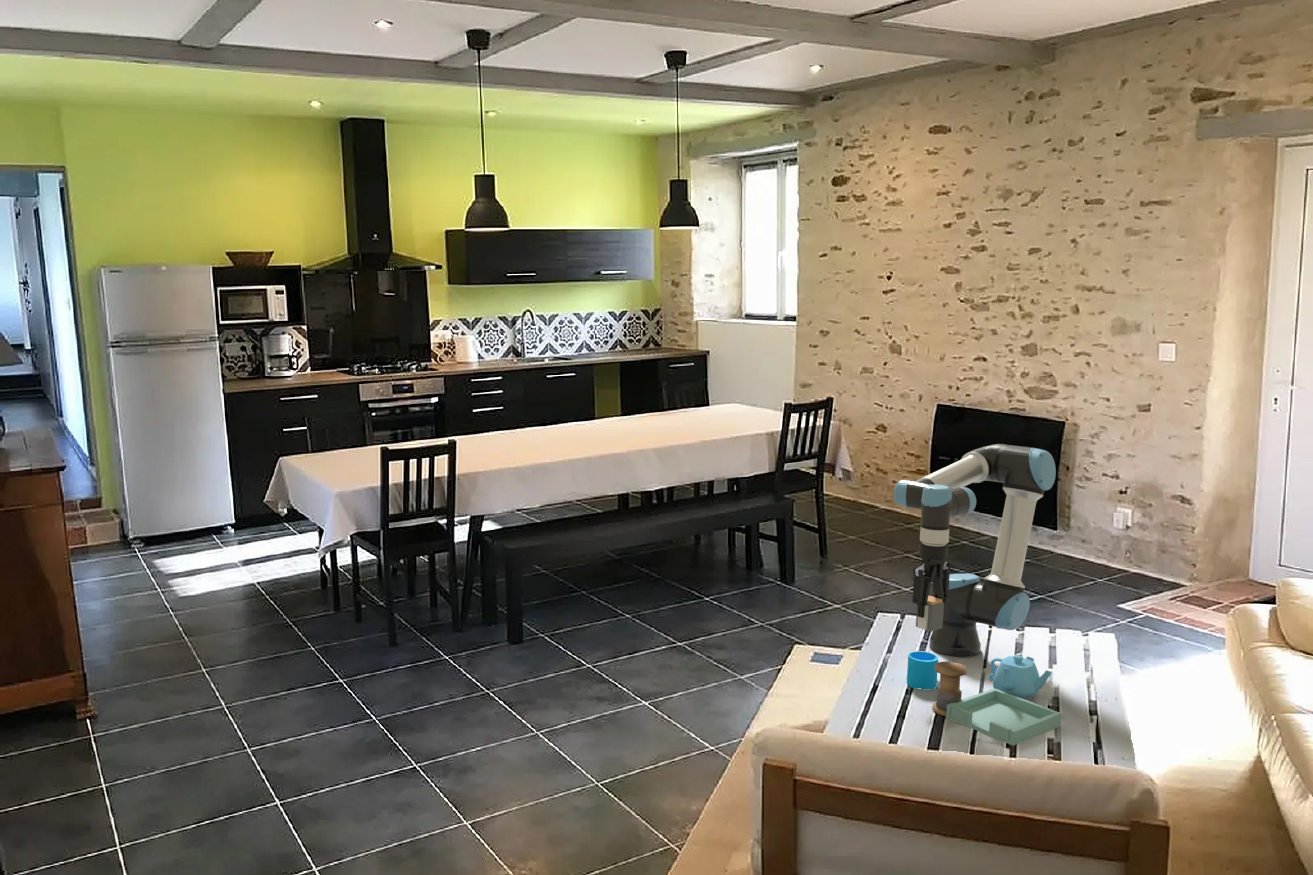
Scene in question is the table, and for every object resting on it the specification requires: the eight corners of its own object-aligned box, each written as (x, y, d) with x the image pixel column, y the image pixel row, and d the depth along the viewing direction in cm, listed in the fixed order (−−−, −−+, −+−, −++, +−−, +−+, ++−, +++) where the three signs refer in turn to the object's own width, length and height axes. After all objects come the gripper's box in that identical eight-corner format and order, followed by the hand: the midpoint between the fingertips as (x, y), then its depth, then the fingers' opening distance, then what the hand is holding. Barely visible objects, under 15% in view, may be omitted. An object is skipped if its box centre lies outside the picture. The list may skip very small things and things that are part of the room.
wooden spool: (945, 702, 280) (948, 659, 278) (970, 712, 274) (973, 668, 272) (925, 709, 275) (928, 665, 273) (950, 719, 269) (953, 674, 267)
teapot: (1052, 707, 278) (1055, 666, 276) (1001, 707, 278) (1004, 666, 276) (1030, 685, 293) (1033, 646, 292) (981, 685, 293) (984, 646, 291)
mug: (927, 692, 287) (929, 663, 286) (901, 684, 292) (902, 656, 291) (948, 681, 296) (950, 653, 294) (922, 673, 301) (924, 646, 300)
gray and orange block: (942, 628, 284) (944, 599, 283) (930, 631, 281) (932, 602, 280) (927, 623, 288) (929, 595, 287) (915, 626, 285) (917, 598, 283)
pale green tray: (993, 700, 282) (994, 688, 281) (1060, 726, 266) (1061, 713, 266) (946, 717, 270) (946, 704, 270) (1013, 745, 254) (1014, 732, 254)
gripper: (943, 535, 289) (938, 616, 293) (900, 544, 278) (896, 628, 282) (966, 541, 283) (960, 624, 287) (923, 550, 272) (918, 636, 276)
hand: (928, 626), depth 284 cm, fingers closed on gray and orange block, 5 cm apart
